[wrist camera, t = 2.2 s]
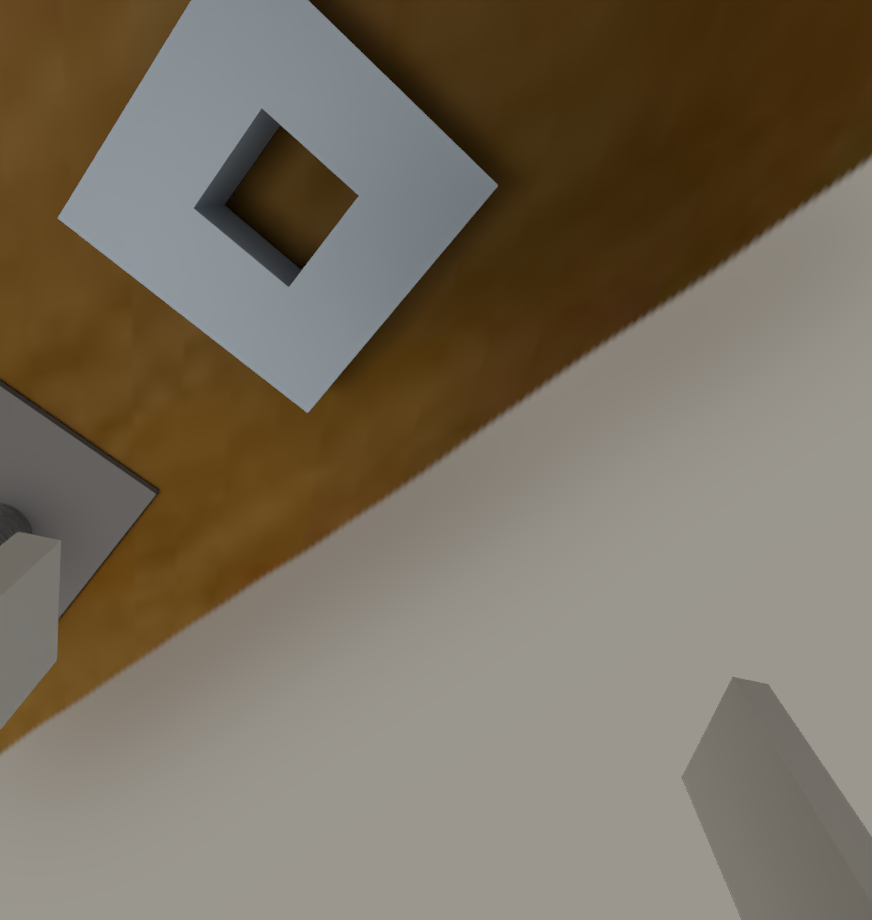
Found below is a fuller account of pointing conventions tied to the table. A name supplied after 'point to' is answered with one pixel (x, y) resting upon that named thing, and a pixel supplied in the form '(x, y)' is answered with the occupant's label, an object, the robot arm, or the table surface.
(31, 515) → the mat
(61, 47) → the table surface
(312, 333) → the hole block
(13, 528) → the peg
